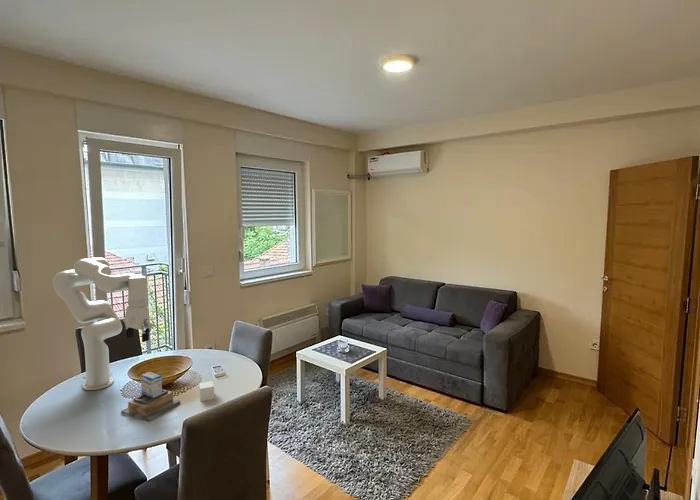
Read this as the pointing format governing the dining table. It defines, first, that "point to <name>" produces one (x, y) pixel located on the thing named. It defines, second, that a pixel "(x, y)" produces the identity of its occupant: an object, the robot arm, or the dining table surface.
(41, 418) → the dining table surface
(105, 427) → the dining table surface
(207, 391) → the white cube
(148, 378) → the medicine box
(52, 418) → the dining table surface
